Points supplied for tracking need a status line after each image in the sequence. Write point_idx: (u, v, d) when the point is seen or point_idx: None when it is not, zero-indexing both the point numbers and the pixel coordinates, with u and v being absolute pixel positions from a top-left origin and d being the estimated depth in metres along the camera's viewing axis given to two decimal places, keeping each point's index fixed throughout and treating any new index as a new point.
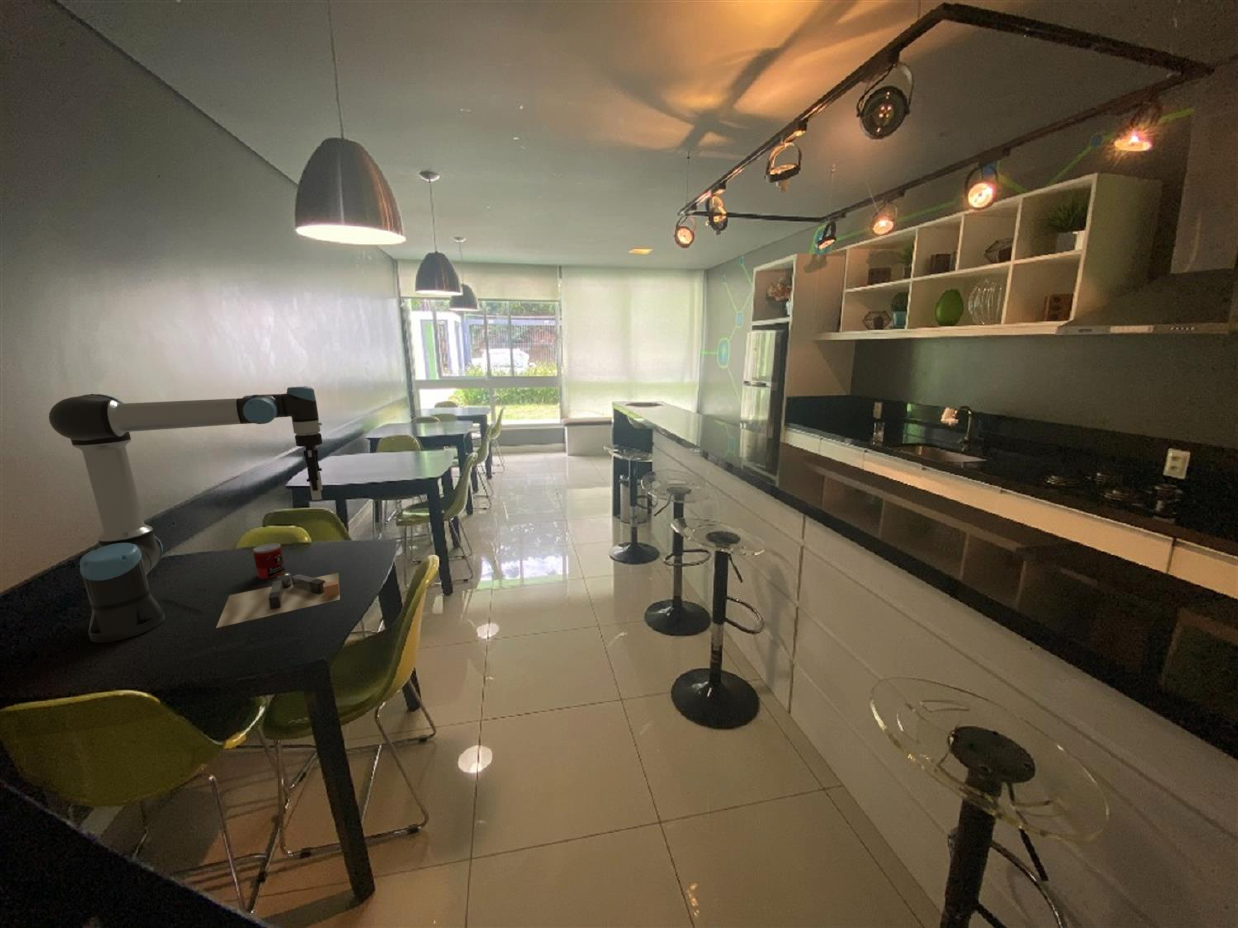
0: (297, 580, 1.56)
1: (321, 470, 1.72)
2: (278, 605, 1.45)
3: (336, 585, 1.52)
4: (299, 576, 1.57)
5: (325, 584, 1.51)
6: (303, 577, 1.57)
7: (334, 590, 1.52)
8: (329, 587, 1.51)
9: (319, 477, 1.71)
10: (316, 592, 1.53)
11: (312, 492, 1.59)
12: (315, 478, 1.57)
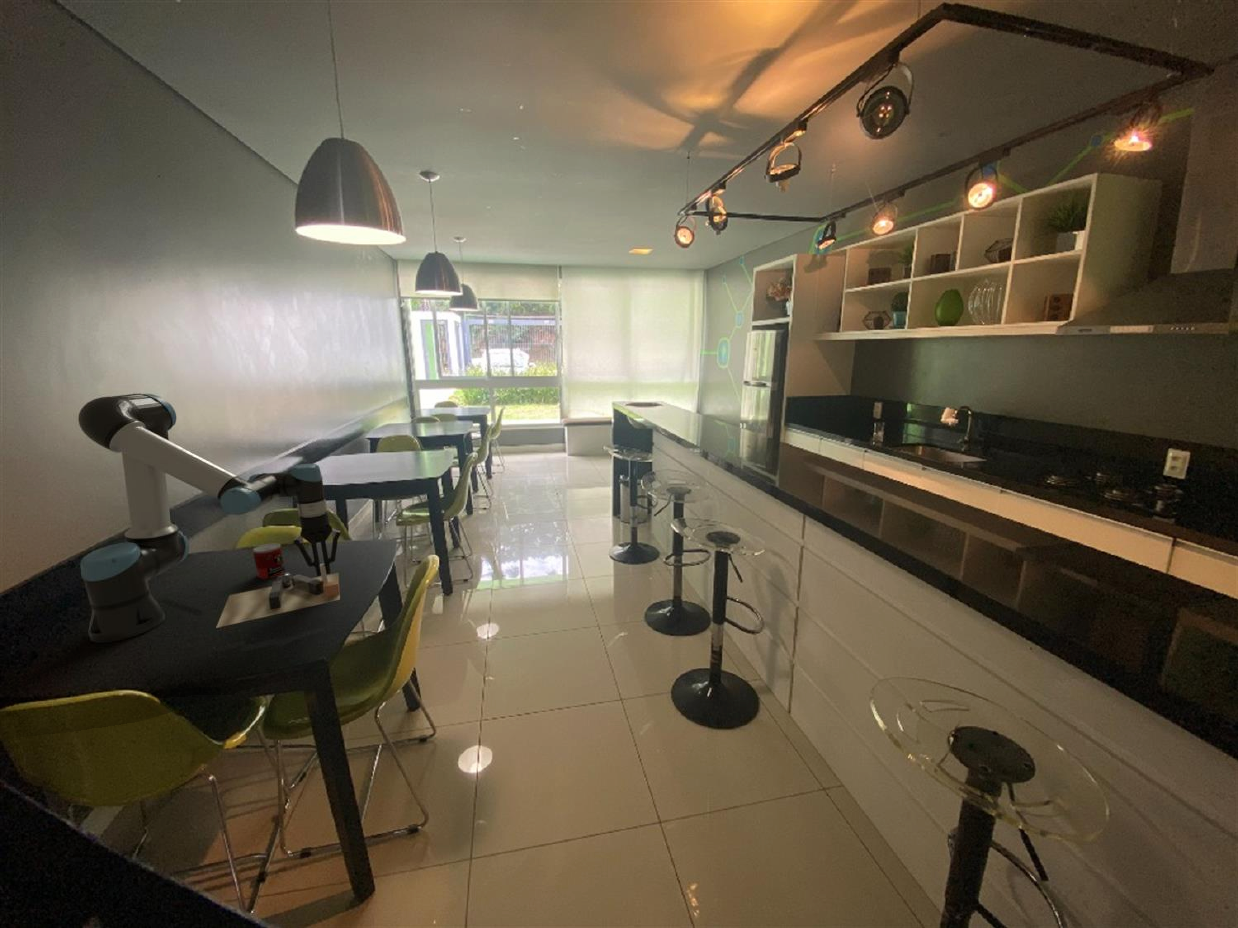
0: (296, 580, 1.56)
1: (324, 564, 1.53)
2: (278, 605, 1.45)
3: (336, 585, 1.52)
4: (298, 576, 1.57)
5: (325, 584, 1.51)
6: (302, 577, 1.57)
7: (334, 590, 1.52)
8: (329, 587, 1.51)
9: None
10: (314, 593, 1.52)
11: None
12: None
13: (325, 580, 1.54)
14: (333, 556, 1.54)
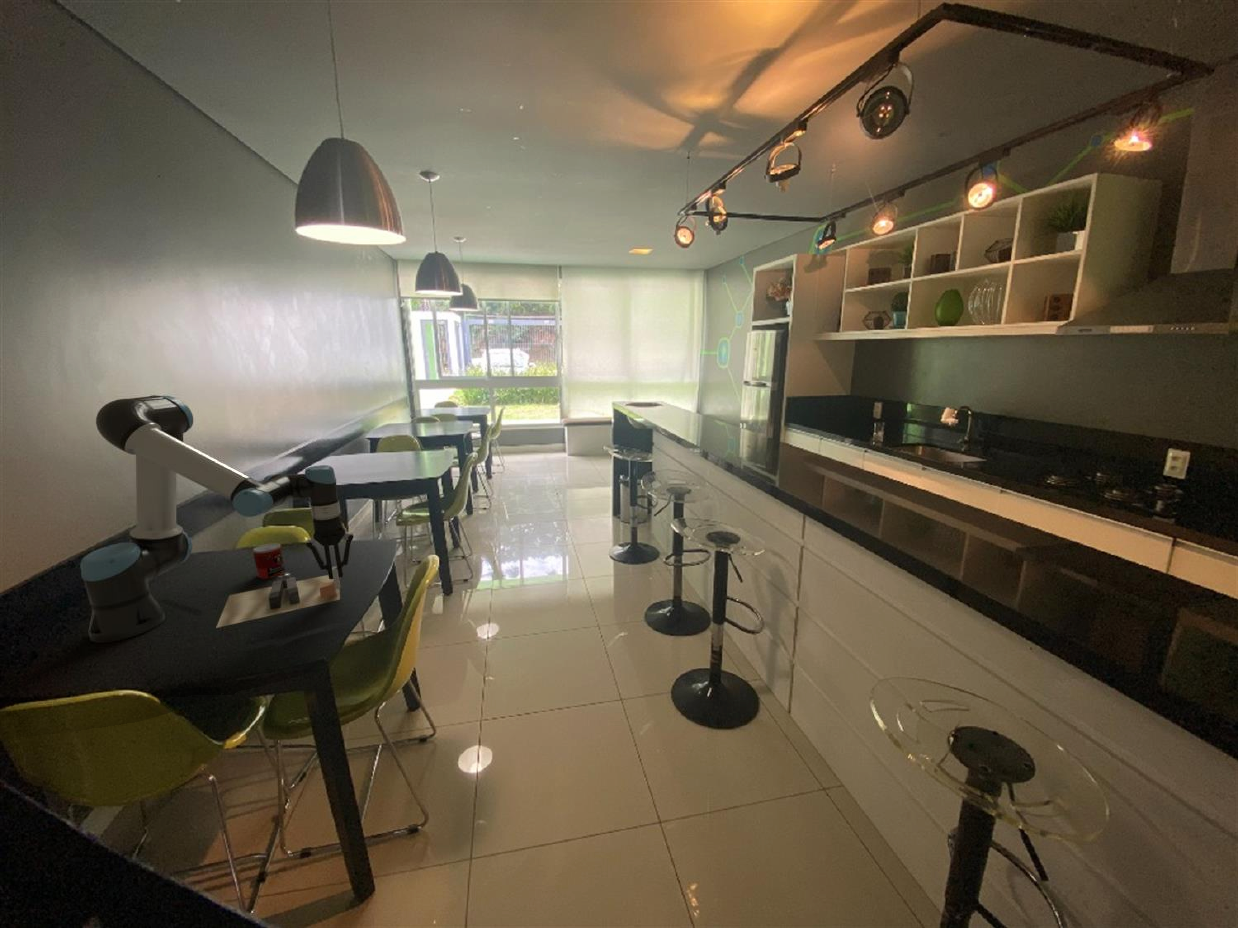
0: (287, 584, 1.54)
1: (337, 567, 1.51)
2: (278, 605, 1.45)
3: (332, 586, 1.51)
4: (291, 580, 1.55)
5: (322, 585, 1.51)
6: (292, 581, 1.54)
7: (330, 591, 1.51)
8: (325, 588, 1.50)
9: None
10: None
11: None
12: None
13: (337, 583, 1.52)
14: (346, 559, 1.52)
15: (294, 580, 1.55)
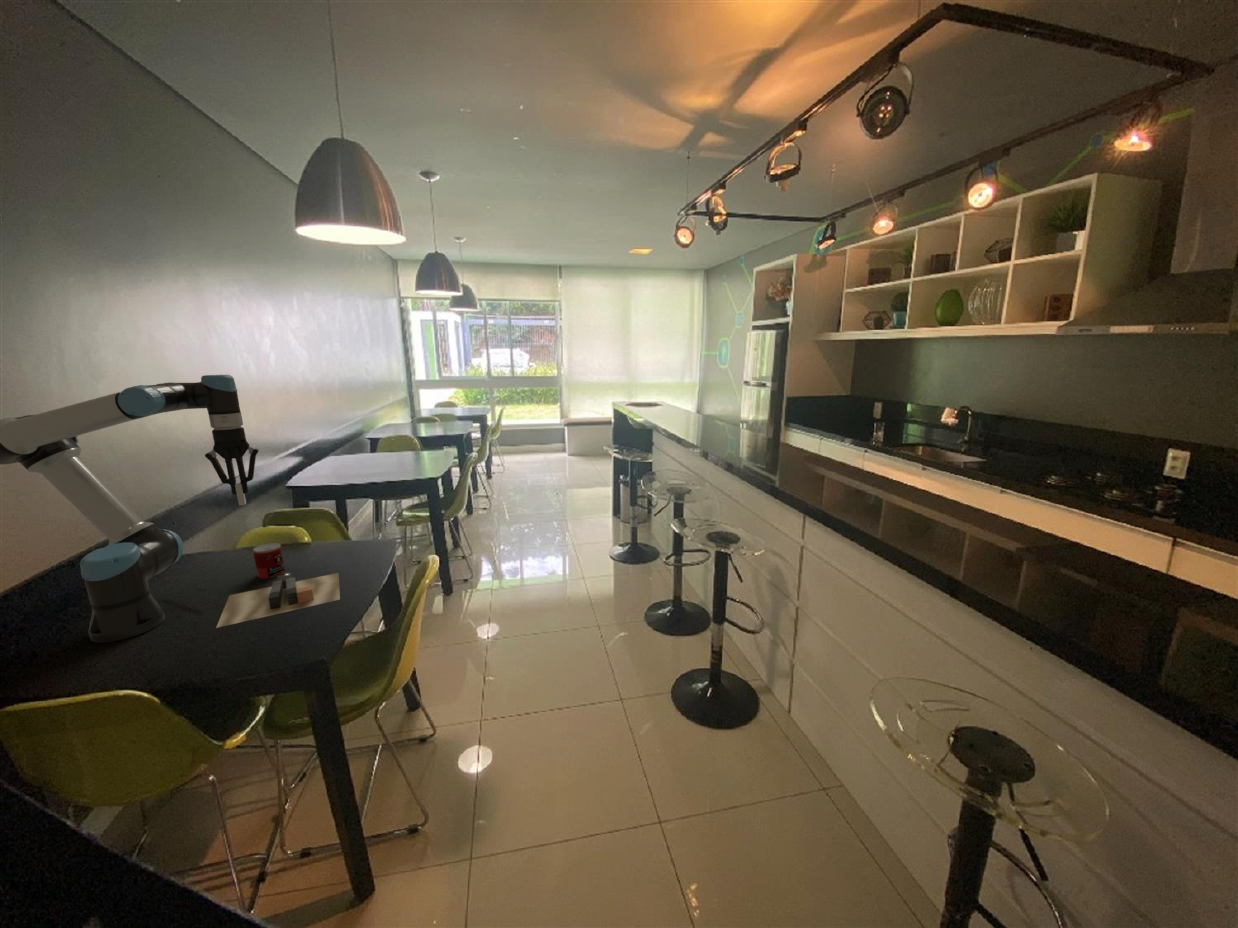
0: None
1: (240, 482, 1.46)
2: (278, 605, 1.45)
3: (310, 591, 1.48)
4: (291, 580, 1.55)
5: (299, 590, 1.48)
6: (292, 582, 1.54)
7: (308, 596, 1.48)
8: (303, 593, 1.47)
9: None
10: (288, 602, 1.47)
11: None
12: None
13: (242, 499, 1.47)
14: (250, 474, 1.48)
15: (293, 580, 1.55)
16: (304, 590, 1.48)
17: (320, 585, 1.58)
